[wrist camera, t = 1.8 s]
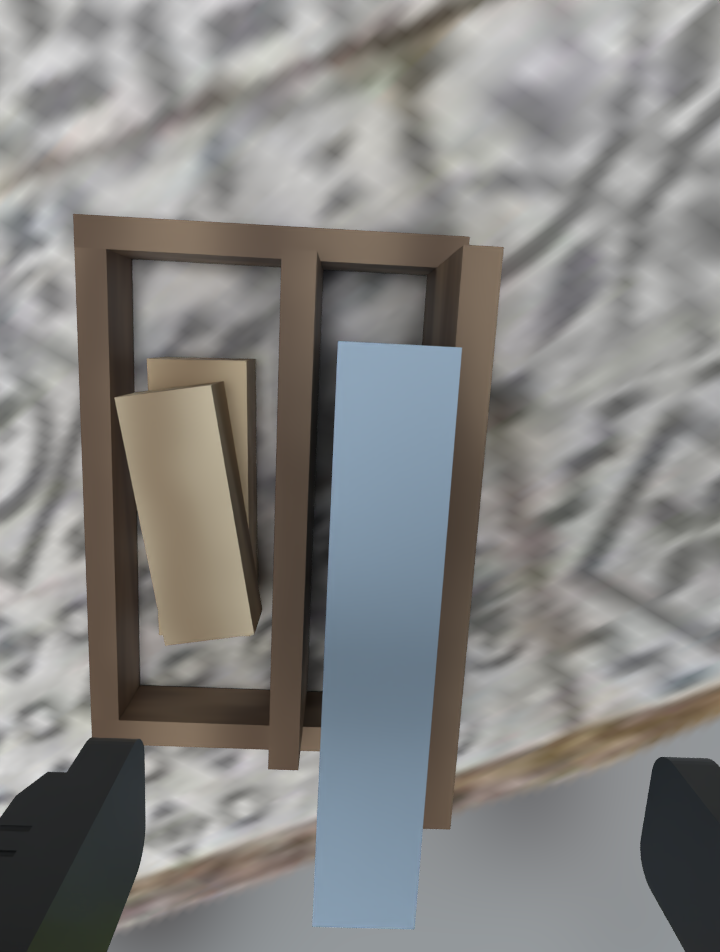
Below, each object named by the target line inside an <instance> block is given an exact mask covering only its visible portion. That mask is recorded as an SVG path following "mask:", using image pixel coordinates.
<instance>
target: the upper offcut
mask: <svg viewBox="0 0 720 952" xmlns="http://www.w3.org/2000/svg"><path fill="white" fill-rule="evenodd" d="M115 403H116V408H117V413H118V418H119V423H120V428H121V432H122V437H123V442H124V447H125V452H126V457H127V462H128V466H129V471H130V476H131V481H132V486H133V491H134V496H135V501H136V505H137V510H138V515H139V520H140V525H141V530H142V535H143V540H144V544H145V549H146V554H147V559H148V564H149V569H150V574H151V579H152V583H153V588H154V593H155V598H156V603H157V608H158V613H159V618H160V622H161V627H162V632H163V637H164V642H165V646H167V645H175V644H182V643H190V642H198V641H206V640H214V639H222V638H230V637H238V636H246V635H254V633H255V630H256V627H257V624H258V621H259V618H260V615H261V612H262V605H261V599H260V593H259V587H258V581H257V575H256V569H255V563H254V557H253V551H252V545H251V540H250V534H249V528H248V522H247V516H246V510H245V504H244V498H243V492H242V486H241V480H240V475H239V469H238V463H237V457H236V451H235V445H234V439H233V433H232V427H231V421H230V415H229V410H228V404H227V398H226V392H225V386H224V381H219V382H212V383H204V384H196V385H188V386H181V387H173V388H165V389H157V390H150V391H142V392H135V393H131V394H127V395H123V396H119V397H115Z"/></svg>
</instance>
